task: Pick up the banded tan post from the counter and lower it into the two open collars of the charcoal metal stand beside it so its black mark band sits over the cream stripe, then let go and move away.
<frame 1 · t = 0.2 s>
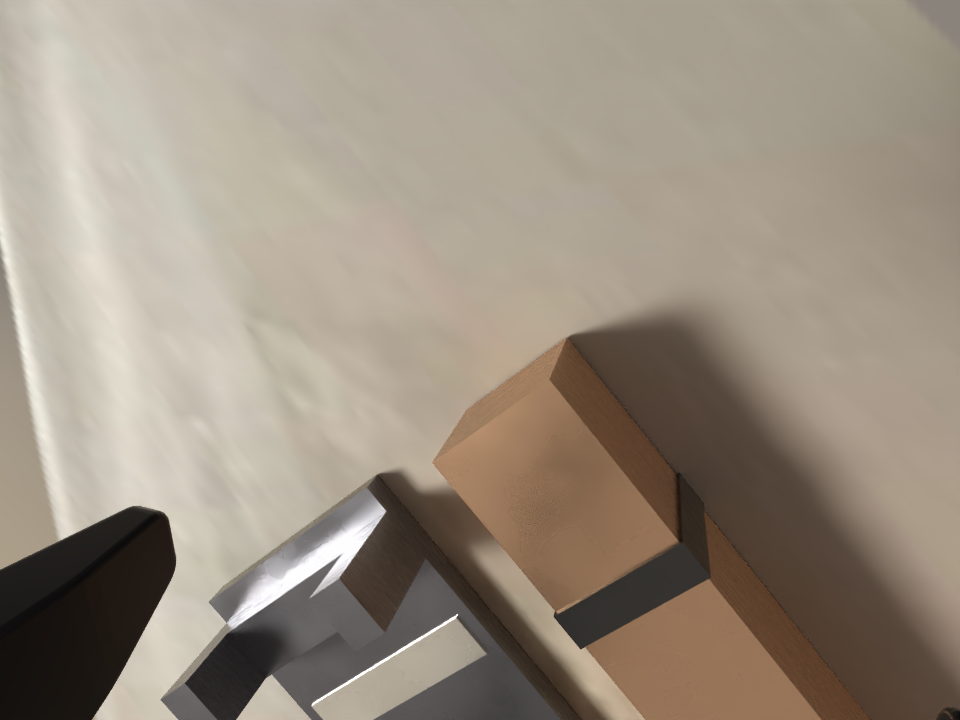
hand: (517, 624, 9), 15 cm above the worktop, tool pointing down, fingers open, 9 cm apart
banded tan post: (692, 594, 25), on the worktop
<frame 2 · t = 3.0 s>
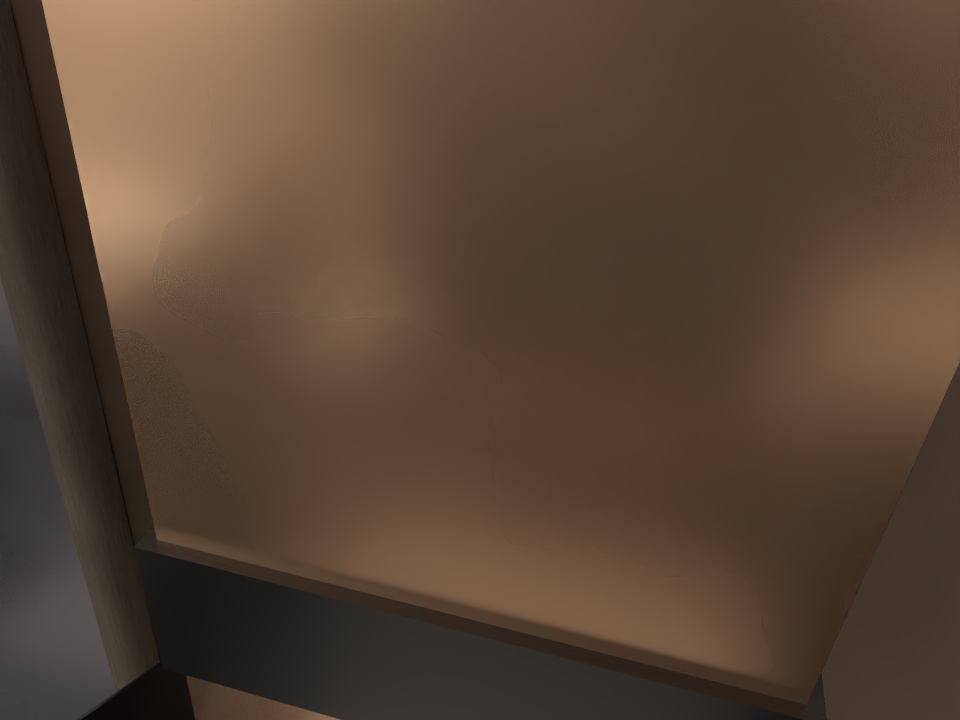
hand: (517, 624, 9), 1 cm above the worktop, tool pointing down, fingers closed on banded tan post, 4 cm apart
banded tan post: (533, 565, 10), on the worktop, touching gripper
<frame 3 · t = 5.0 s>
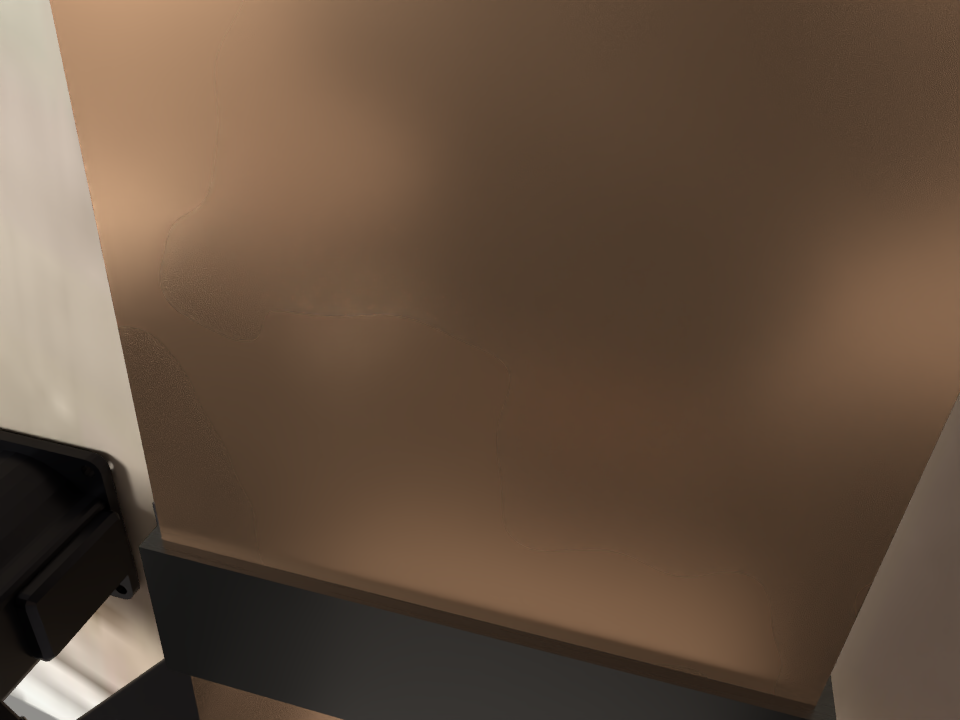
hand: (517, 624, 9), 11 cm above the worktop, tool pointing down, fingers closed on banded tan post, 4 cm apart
banded tan post: (537, 565, 10), point 10 cm above the worktop, touching gripper
when the fingers open (5 cm above the worktop, at t = 7.2 s): banded tan post drops 2 cm, resting on collar stand.
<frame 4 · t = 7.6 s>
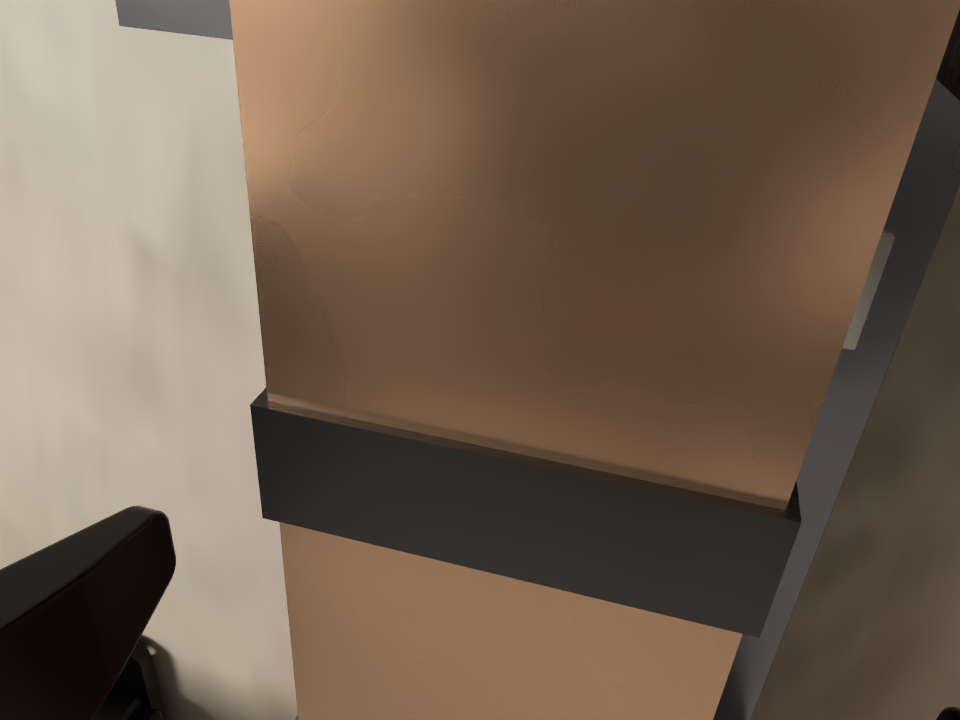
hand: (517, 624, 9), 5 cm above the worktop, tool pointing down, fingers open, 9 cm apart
banded tan post: (553, 485, 11), point 2 cm above the worktop, touching collar stand
collar stand: (583, 392, 13), on the worktop
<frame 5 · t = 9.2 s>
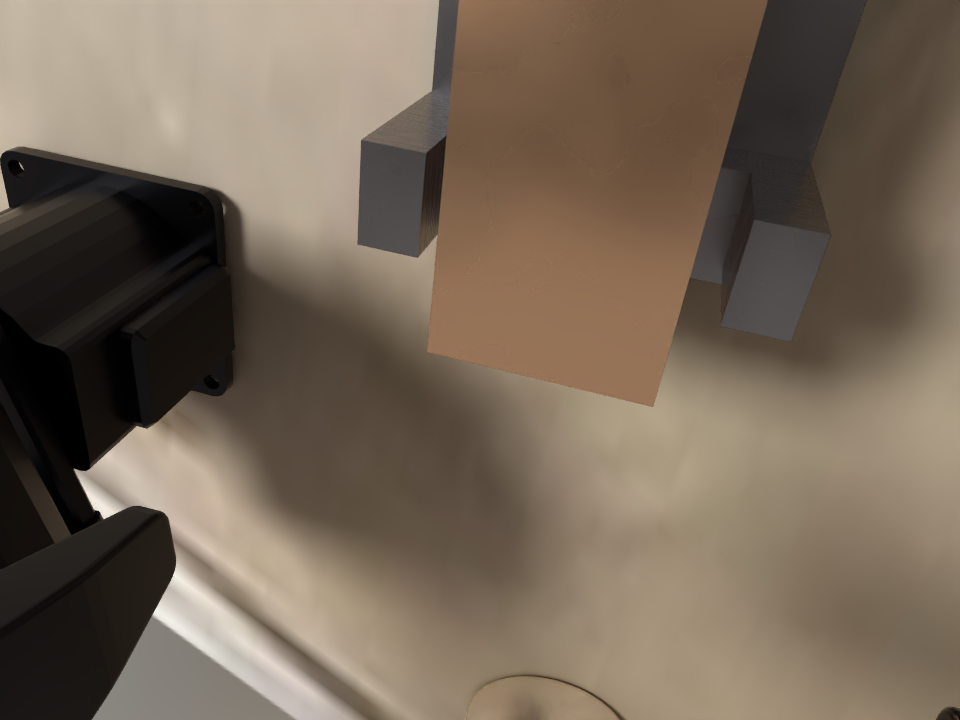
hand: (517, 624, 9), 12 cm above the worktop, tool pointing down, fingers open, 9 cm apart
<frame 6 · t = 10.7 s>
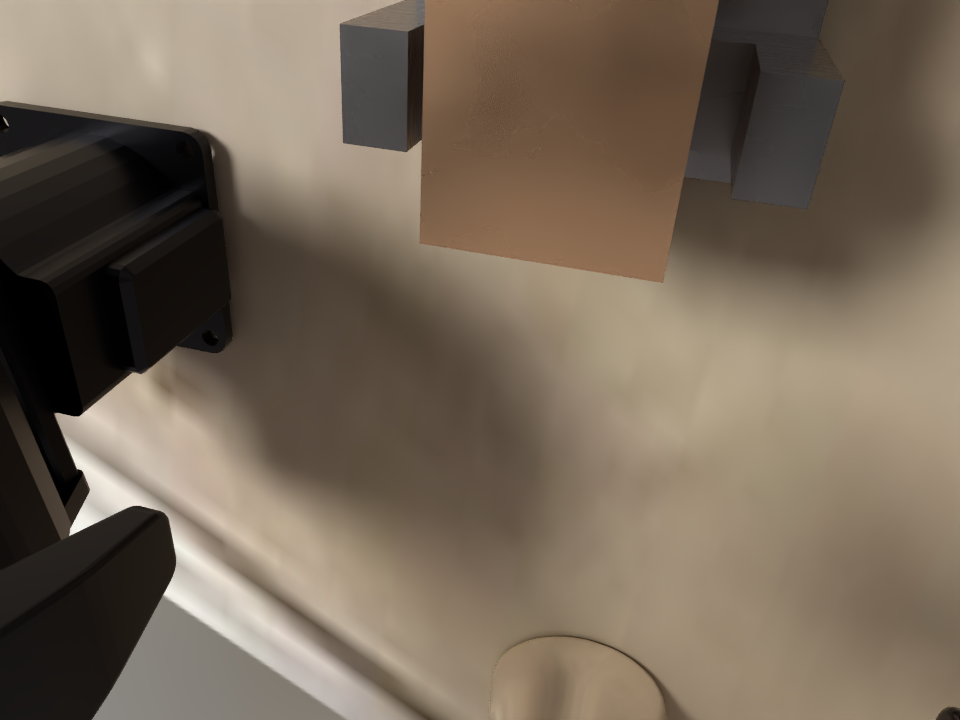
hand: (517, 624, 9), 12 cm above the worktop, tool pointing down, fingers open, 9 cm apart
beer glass: (578, 691, 28), on the worktop
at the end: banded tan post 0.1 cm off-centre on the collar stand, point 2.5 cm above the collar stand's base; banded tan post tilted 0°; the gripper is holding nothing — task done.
